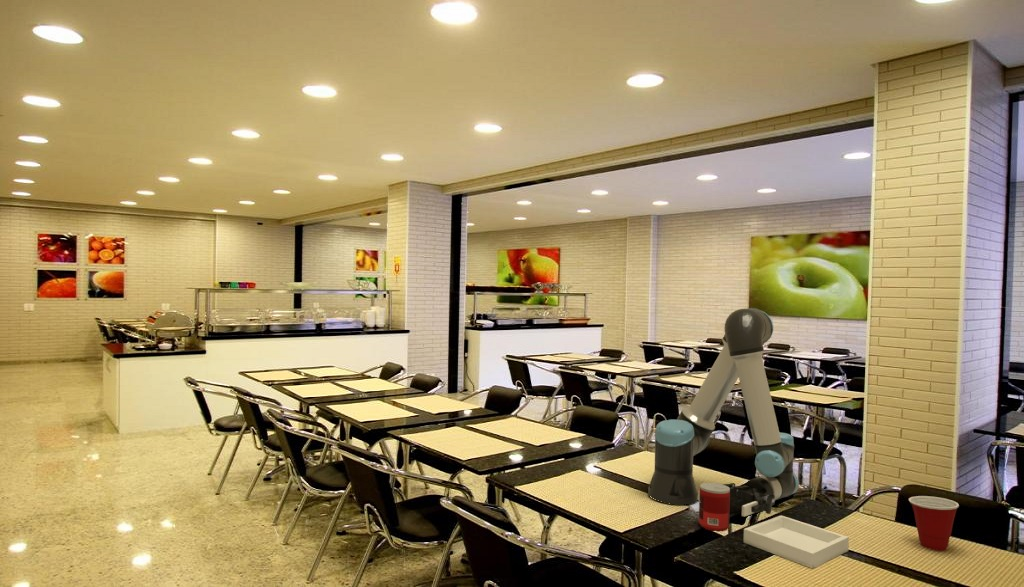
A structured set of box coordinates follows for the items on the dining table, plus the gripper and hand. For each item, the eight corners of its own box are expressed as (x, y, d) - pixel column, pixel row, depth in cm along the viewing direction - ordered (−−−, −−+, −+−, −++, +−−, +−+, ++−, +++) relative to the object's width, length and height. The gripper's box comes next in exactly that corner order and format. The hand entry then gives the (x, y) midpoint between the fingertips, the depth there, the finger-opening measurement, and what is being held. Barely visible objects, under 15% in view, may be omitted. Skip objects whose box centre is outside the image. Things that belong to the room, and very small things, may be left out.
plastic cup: (910, 534, 166) (911, 490, 167) (959, 545, 160) (960, 500, 160) (904, 546, 158) (905, 500, 158) (956, 559, 151) (957, 510, 151)
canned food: (735, 530, 167) (736, 489, 167) (710, 533, 164) (711, 492, 164) (716, 520, 174) (717, 481, 174) (693, 523, 171) (694, 483, 171)
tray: (743, 542, 158) (743, 528, 158) (780, 527, 169) (781, 515, 169) (812, 568, 144) (812, 553, 144) (848, 550, 155) (848, 537, 155)
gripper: (803, 515, 172) (762, 532, 159) (724, 491, 191) (682, 504, 179) (804, 488, 172) (763, 503, 159) (725, 467, 191) (683, 478, 179)
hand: (720, 503), depth 169 cm, fingers open, 13 cm apart
